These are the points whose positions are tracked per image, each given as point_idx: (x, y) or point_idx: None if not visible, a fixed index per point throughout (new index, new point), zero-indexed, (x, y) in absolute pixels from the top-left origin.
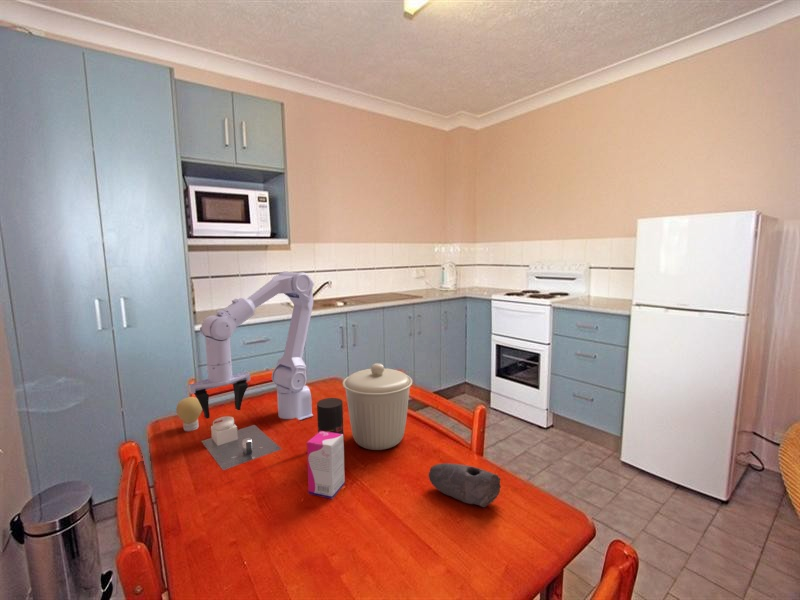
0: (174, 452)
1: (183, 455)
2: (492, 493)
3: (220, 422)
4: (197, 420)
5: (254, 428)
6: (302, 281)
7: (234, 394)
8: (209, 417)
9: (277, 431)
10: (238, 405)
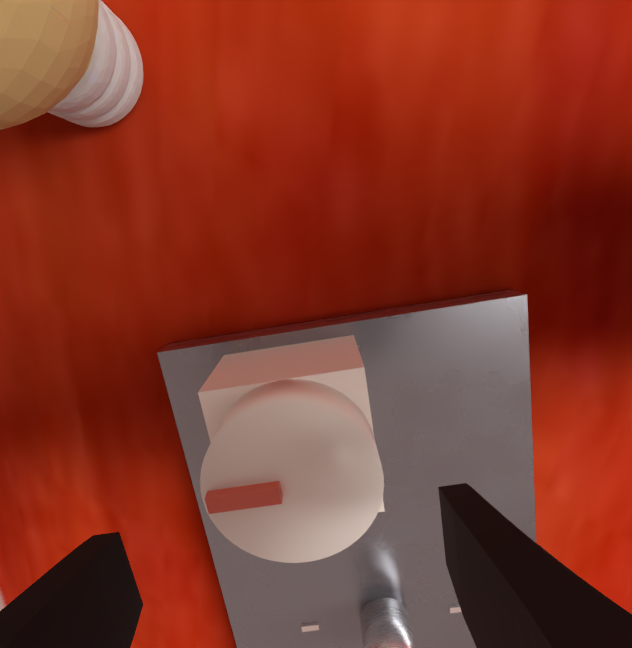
0: (21, 347)
1: (75, 411)
2: None
3: (262, 514)
4: (99, 51)
5: (505, 358)
6: None
7: (535, 627)
8: (140, 610)
9: (614, 407)
10: (477, 640)
